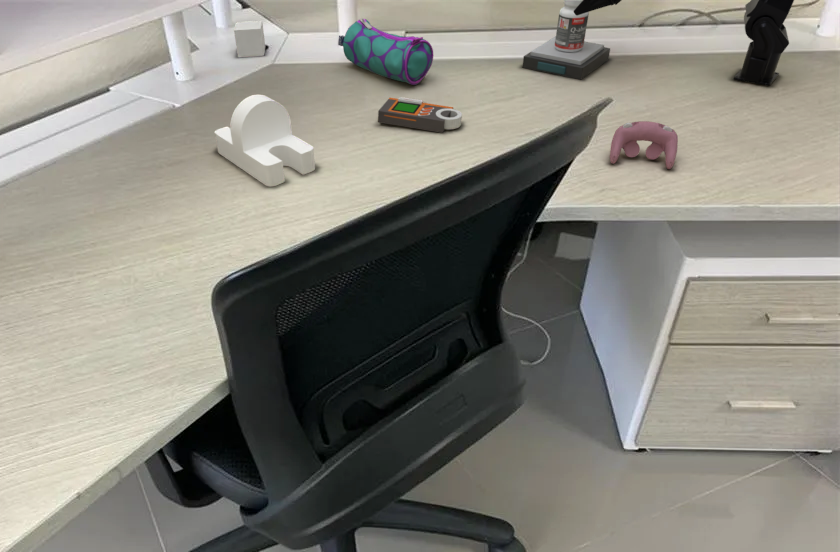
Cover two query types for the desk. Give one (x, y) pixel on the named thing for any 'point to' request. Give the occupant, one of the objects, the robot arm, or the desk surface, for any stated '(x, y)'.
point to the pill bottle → (570, 28)
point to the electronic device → (419, 115)
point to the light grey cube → (249, 38)
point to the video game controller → (645, 131)
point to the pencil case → (387, 52)
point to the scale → (566, 59)
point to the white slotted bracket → (264, 141)
